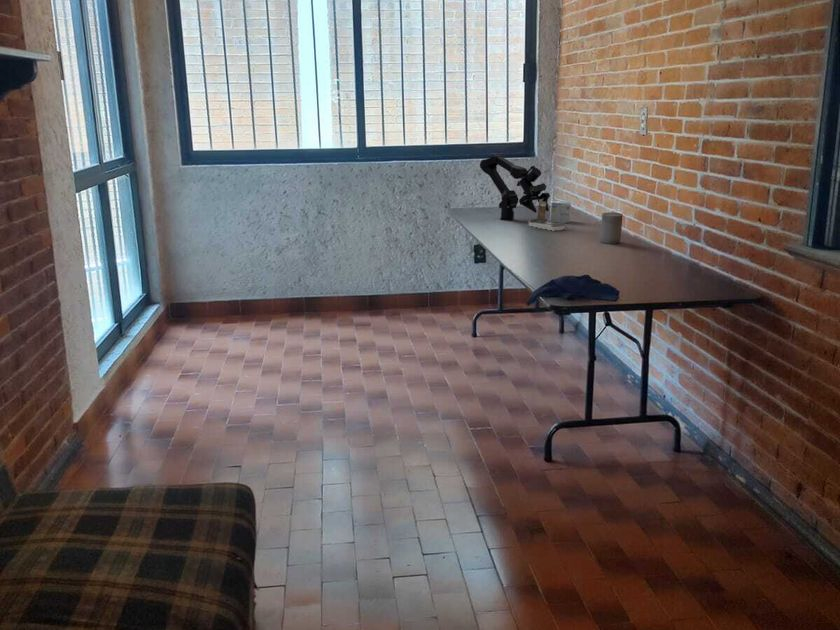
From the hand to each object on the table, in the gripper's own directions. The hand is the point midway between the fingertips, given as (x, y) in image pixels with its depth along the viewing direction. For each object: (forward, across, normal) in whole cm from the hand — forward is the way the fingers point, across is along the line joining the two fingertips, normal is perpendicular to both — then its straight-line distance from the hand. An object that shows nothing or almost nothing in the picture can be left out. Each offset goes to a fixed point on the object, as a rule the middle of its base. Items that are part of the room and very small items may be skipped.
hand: (542, 211), depth 398 cm
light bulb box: (+2, +22, +10) cm, 24 cm away
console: (+8, 0, +3) cm, 9 cm away
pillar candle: (+38, -2, -27) cm, 47 cm away
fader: (+4, 0, +4) cm, 5 cm away
